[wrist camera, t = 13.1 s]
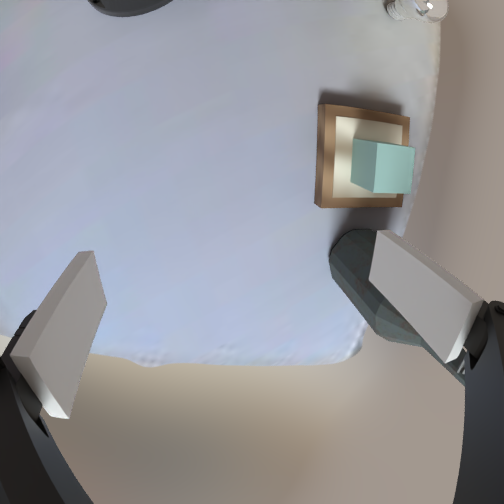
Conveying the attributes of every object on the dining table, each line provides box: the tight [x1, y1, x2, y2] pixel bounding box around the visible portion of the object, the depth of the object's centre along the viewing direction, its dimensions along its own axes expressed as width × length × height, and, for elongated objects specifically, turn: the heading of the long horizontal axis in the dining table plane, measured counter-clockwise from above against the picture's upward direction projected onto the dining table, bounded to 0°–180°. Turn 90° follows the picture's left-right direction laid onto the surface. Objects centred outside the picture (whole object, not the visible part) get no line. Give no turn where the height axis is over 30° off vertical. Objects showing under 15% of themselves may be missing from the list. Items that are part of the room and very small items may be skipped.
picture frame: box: [314, 104, 410, 208], centre depth 38 cm, size 14×14×3 cm
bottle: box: [329, 229, 466, 386], centre depth 33 cm, size 10×10×30 cm
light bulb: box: [387, 0, 448, 23], centre depth 24 cm, size 7×7×12 cm
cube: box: [350, 139, 415, 194], centre depth 34 cm, size 6×6×6 cm
